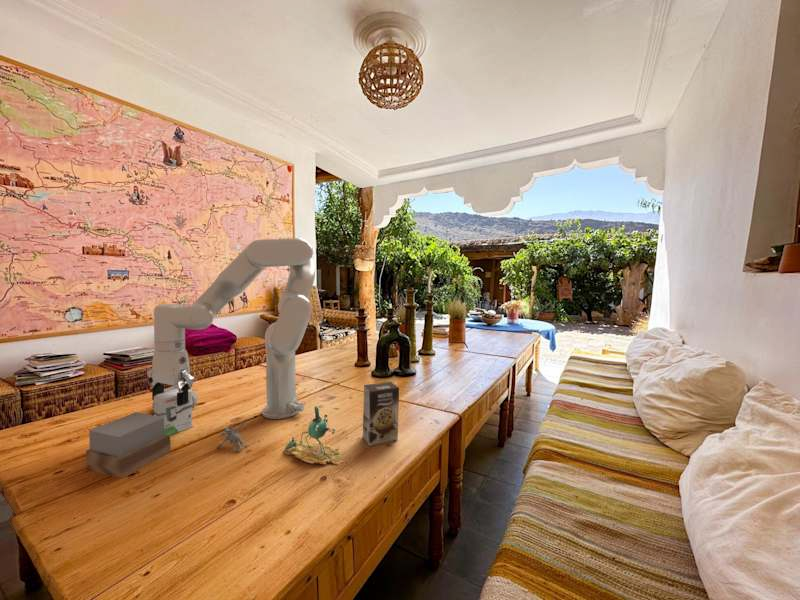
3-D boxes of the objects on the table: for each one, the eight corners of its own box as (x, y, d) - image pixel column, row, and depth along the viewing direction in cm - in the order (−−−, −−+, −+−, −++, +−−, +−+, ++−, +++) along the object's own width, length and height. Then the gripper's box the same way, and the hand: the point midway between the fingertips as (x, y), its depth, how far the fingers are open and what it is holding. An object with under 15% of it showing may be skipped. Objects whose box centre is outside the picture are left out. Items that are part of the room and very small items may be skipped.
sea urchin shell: (162, 420, 107) (161, 396, 106) (145, 410, 114) (144, 387, 113) (205, 407, 118) (204, 385, 117) (187, 398, 125) (186, 377, 124)
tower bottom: (170, 453, 89) (170, 435, 88) (122, 479, 77) (121, 459, 77) (138, 445, 92) (137, 428, 92) (87, 470, 81) (86, 450, 80)
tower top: (164, 435, 88) (163, 417, 88) (119, 457, 78) (118, 436, 77) (136, 429, 91) (136, 412, 91) (90, 449, 81) (89, 430, 80)
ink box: (162, 438, 96) (161, 399, 94) (154, 434, 98) (152, 395, 97) (193, 426, 103) (192, 390, 102) (184, 422, 105) (183, 387, 104)
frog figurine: (299, 439, 97) (304, 391, 95) (351, 461, 90) (357, 410, 88) (275, 455, 88) (279, 403, 86) (330, 481, 81) (337, 425, 79)
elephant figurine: (222, 460, 86) (208, 440, 90) (233, 465, 90) (219, 445, 94) (250, 431, 89) (236, 413, 94) (260, 438, 94) (246, 420, 98)
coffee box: (369, 446, 93) (370, 391, 92) (362, 436, 99) (362, 384, 98) (398, 440, 97) (399, 387, 96) (390, 430, 103) (391, 380, 102)
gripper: (203, 346, 99) (203, 401, 100) (160, 340, 104) (161, 393, 105) (180, 351, 92) (180, 411, 93) (135, 345, 97) (136, 401, 98)
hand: (170, 401), depth 99 cm, fingers open, 9 cm apart
